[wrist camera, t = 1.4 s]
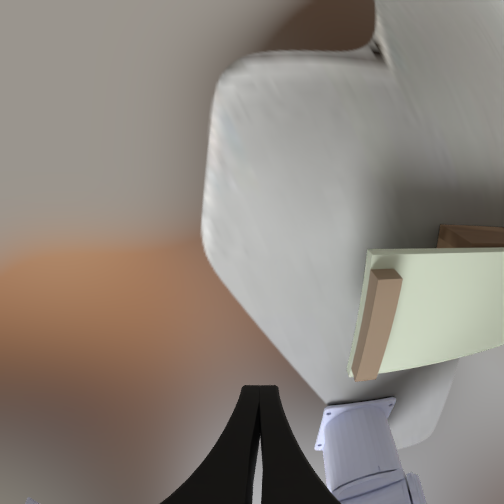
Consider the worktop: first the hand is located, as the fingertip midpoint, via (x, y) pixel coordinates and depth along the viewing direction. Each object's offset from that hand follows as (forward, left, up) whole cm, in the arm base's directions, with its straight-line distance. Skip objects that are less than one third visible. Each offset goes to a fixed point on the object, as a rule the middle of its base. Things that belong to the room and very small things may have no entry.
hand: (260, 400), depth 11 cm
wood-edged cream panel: (0, -13, -6) cm, 15 cm away
